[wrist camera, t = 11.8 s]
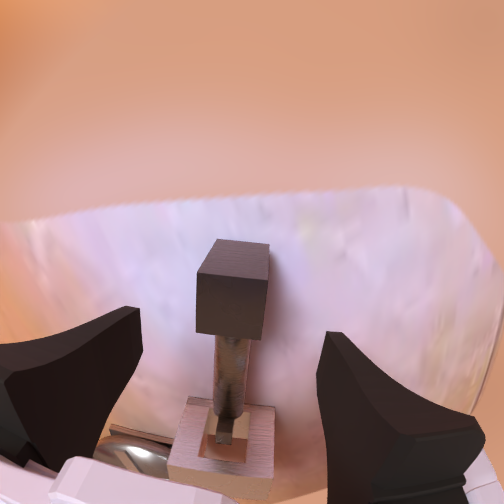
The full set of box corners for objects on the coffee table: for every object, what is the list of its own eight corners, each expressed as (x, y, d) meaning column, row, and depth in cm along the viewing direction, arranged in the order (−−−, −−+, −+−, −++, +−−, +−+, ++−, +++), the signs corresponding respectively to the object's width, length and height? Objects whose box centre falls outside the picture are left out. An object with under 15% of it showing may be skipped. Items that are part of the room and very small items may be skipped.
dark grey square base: (190, 442, 22) (186, 456, 21) (193, 482, 25) (190, 495, 23) (111, 423, 23) (104, 436, 21) (125, 466, 25) (120, 478, 23)
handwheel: (76, 430, 21) (56, 464, 17) (181, 437, 20) (167, 482, 16) (135, 501, 24) (125, 531, 20) (226, 508, 23) (221, 543, 19)
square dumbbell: (269, 244, 16) (268, 280, 12) (250, 404, 19) (244, 458, 15) (217, 238, 16) (196, 272, 12) (210, 399, 19) (197, 452, 15)
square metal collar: (274, 406, 20) (273, 478, 15) (269, 433, 21) (266, 500, 16) (188, 396, 21) (166, 464, 15) (189, 423, 22) (171, 487, 16)
